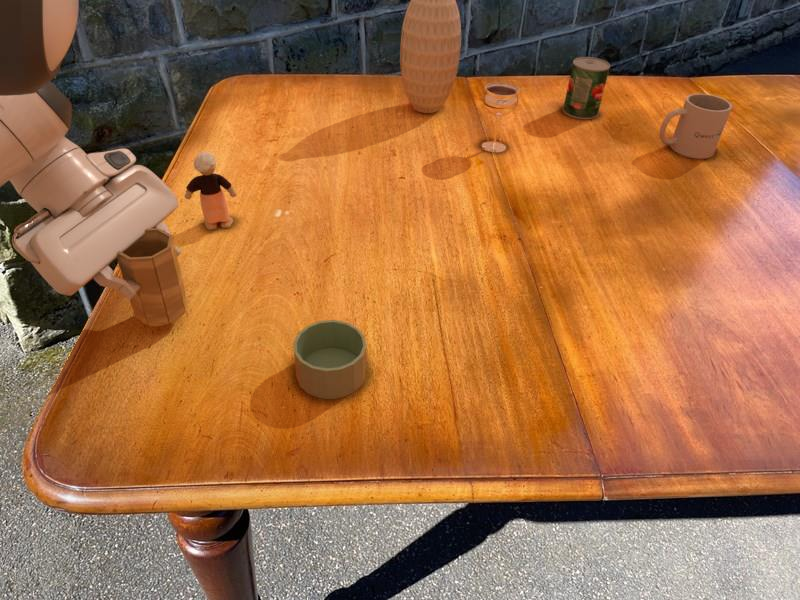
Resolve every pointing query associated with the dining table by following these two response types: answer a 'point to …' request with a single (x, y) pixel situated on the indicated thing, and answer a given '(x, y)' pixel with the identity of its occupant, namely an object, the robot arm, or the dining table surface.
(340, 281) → the dining table surface
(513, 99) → the wineglass
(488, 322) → the dining table surface
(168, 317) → the octagonal wooden container
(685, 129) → the mug
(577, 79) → the canned tomato
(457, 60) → the vase
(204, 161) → the grandmother figurine
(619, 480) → the dining table surface
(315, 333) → the gray bowl
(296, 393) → the dining table surface
